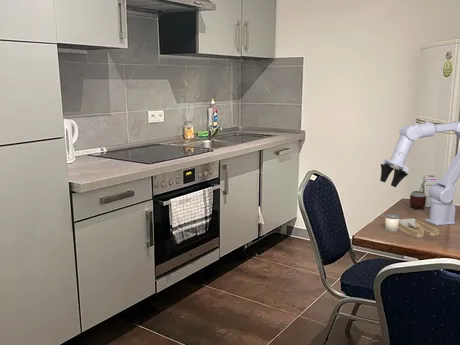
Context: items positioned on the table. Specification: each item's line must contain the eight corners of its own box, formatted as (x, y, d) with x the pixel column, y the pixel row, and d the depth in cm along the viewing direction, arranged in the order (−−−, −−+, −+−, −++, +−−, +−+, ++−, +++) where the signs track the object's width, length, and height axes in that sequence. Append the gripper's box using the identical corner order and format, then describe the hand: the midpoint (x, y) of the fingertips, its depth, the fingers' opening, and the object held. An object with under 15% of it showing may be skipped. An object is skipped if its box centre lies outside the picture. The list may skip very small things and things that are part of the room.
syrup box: (436, 207, 220) (438, 177, 217) (423, 206, 221) (425, 177, 218) (433, 204, 225) (435, 175, 223) (420, 203, 226) (422, 174, 224)
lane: (413, 224, 193) (414, 217, 192) (439, 235, 179) (439, 227, 178) (392, 226, 190) (392, 219, 190) (416, 237, 176) (416, 230, 175)
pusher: (413, 224, 191) (413, 218, 190) (423, 229, 185) (424, 222, 184) (398, 226, 189) (398, 219, 188) (408, 231, 183) (408, 224, 182)
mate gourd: (412, 206, 222) (414, 175, 219) (429, 208, 217) (431, 177, 214) (406, 209, 217) (409, 178, 214) (424, 211, 212) (426, 180, 209)
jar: (393, 227, 189) (394, 212, 187) (401, 231, 183) (402, 216, 182) (381, 228, 187) (382, 213, 186) (389, 232, 182) (390, 217, 181)
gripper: (382, 147, 193) (370, 177, 195) (404, 153, 179) (390, 185, 181) (395, 152, 195) (383, 181, 197) (418, 159, 182) (404, 190, 183)
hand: (387, 184), depth 189 cm, fingers open, 7 cm apart
